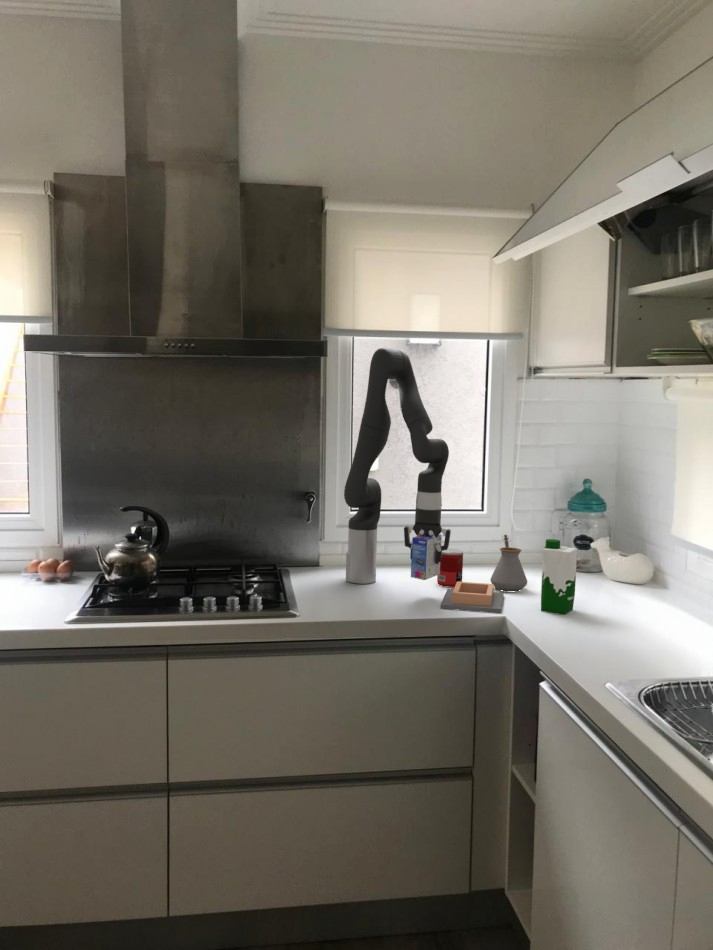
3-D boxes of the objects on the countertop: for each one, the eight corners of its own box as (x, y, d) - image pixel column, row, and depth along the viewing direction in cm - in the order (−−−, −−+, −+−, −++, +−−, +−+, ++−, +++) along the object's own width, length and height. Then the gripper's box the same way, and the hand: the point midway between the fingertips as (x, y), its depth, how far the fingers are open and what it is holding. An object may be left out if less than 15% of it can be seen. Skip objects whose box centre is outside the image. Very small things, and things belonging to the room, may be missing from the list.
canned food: (461, 588, 262) (462, 553, 261) (436, 586, 264) (437, 552, 263) (462, 582, 270) (463, 549, 269) (437, 581, 271) (438, 547, 270)
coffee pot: (529, 594, 256) (531, 546, 255) (491, 592, 257) (493, 545, 255) (521, 579, 277) (523, 534, 276) (486, 577, 278) (488, 533, 277)
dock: (440, 608, 237) (440, 594, 236) (447, 592, 256) (448, 579, 256) (500, 613, 233) (501, 598, 233) (503, 596, 253) (504, 582, 252)
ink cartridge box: (423, 571, 253) (427, 524, 251) (440, 574, 250) (444, 527, 248) (408, 577, 244) (412, 528, 242) (425, 580, 241) (429, 531, 240)
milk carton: (546, 604, 244) (549, 537, 242) (577, 609, 239) (580, 540, 237) (536, 611, 236) (539, 541, 234) (568, 616, 232) (571, 545, 230)
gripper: (402, 506, 242) (399, 563, 244) (451, 510, 239) (448, 567, 241) (406, 503, 250) (403, 557, 252) (454, 506, 247) (451, 561, 249)
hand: (425, 562), depth 246 cm, fingers closed on ink cartridge box, 6 cm apart
